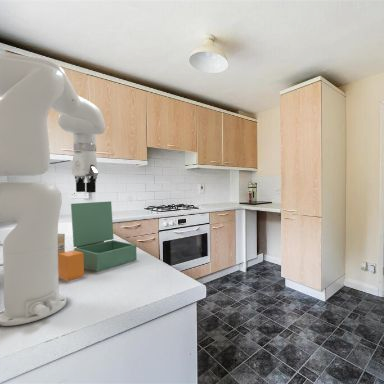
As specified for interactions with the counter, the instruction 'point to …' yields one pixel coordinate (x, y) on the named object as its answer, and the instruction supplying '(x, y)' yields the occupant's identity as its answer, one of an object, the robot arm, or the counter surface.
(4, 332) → the counter surface
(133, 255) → the lunchbox
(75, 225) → the lunchbox lid
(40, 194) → the robot arm
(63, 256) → the juice carton
